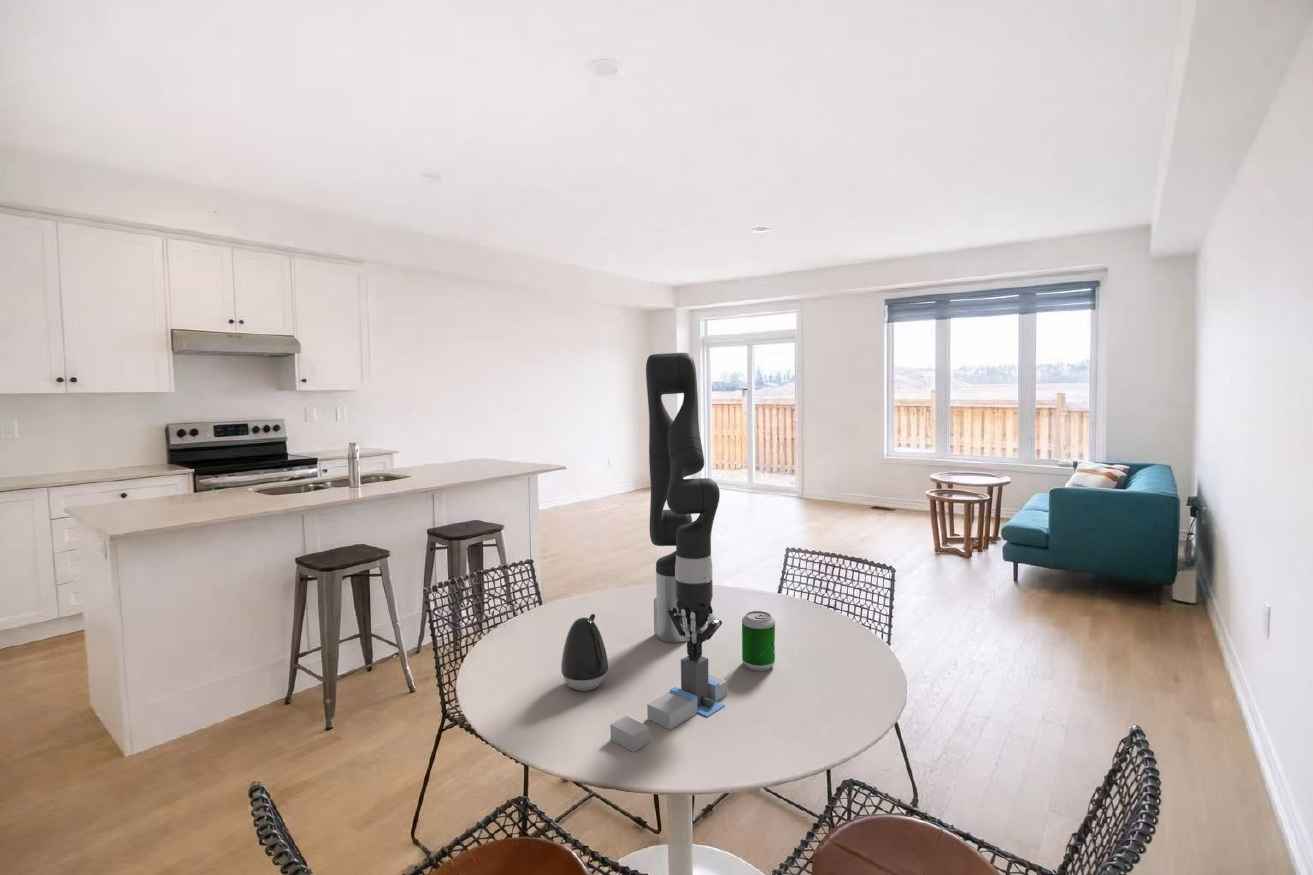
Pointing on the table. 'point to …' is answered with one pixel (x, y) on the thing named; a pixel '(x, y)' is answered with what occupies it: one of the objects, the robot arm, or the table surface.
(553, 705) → the table surface
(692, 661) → the dark grey bar
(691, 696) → the blue-tipped block chain
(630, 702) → the table surface
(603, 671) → the black egg-shaped body
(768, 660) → the soda can
